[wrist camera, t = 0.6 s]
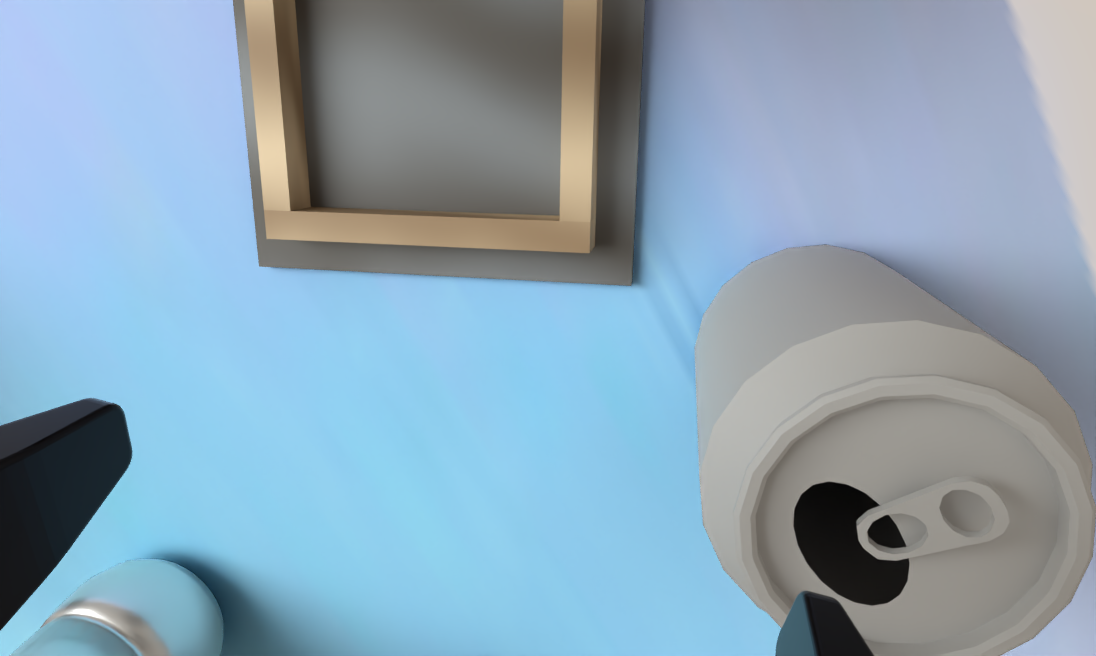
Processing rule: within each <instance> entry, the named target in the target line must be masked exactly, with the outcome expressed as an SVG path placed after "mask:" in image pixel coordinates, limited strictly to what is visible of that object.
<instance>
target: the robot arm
mask: <svg viewBox="0 0 1096 656" xmlns="http://www.w3.org/2000/svg"><path fill="white" fill-rule="evenodd" d="M131 458H132V446H131V441H130V437H129V432H128V427H127V423H126V418H125V414H124V411H123V409H122V408H121V407H120V406H119V405H117V404H114V403H110V402H106V401H103V400H99V399H95V398H87V399H83V400H80V401H76V402H73V403H70V404H67V405H64V406H61V407H58V408H55V409H51V410H48V411H45V412H42V413H39V414H36V415H33V416H29V417H26V418H23V419H20V420H17V421H14V422H11V423H7V424H4V425H1V426H0V631H1V629H2V628H3V627H4V626H5V625H6V624H7V623H8V621H9V620H10V619H11V618H12V617H13V616H14V615H15V613H16V612H17V611H18V610H19V609H20V608H21V607H22V605H23V604H24V603H25V602H26V601H27V600H28V599H29V597H30V596H31V595H32V594H33V593H34V592H35V591H36V589H37V588H38V587H39V586H40V585H41V584H42V583H43V581H44V580H45V579H46V578H47V577H48V575H49V574H50V573H51V572H52V571H53V569H54V568H55V567H56V566H57V565H58V563H59V562H60V561H61V559H62V558H63V557H64V555H65V554H66V553H67V551H68V550H69V549H70V548H71V546H72V545H73V543H74V542H75V541H76V539H77V538H78V536H79V535H80V534H81V532H82V531H83V530H84V528H85V527H86V525H87V524H88V523H89V521H90V520H91V518H92V517H93V516H94V514H95V513H96V512H97V510H98V509H99V507H100V506H101V505H102V503H103V502H104V500H105V499H106V498H107V496H108V495H109V494H110V492H111V491H112V489H113V488H114V487H115V485H116V484H117V483H118V481H119V480H120V478H121V477H122V476H123V474H124V473H125V471H126V470H127V468H128V466H129V464H130V462H131ZM775 656H874V654H873V653H872V651H871V650H870V648H869V647H868V645H867V644H866V642H865V640H864V639H863V637H862V636H861V634H860V633H859V631H858V630H857V628H856V626H855V625H854V623H853V622H852V620H851V619H850V617H849V616H848V614H847V612H846V611H845V609H844V608H843V606H842V605H841V604H840V602H839V601H837V600H836V599H835V598H833V597H830V596H826V595H822V594H818V593H815V592H811V591H801V592H800V593H799V594H798V595H797V597H796V599H795V601H794V603H793V605H792V607H791V610H790V612H789V614H788V616H787V618H786V620H785V622H784V624H783V626H782V628H781V631H780V633H779V636H778V640H777V645H776V655H775Z"/></svg>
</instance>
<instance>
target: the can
mask: <svg viewBox="0 0 1096 656" xmlns="http://www.w3.org/2000/svg"><path fill="white" fill-rule="evenodd" d="M695 373H696V400H697V427H698V453H699V478H700V491H701V504H702V517H703V525H704V528H705V530H706V532H707V534H708V536H709V539H710V541H711V543H712V545H713V548H714V550H715V552H716V554H717V556H718V559H719V561H720V563H721V565H722V568H723V570H724V571H725V572H726V573H727V574H728V575H729V576H730V577H731V578H732V579H733V580H734V582H735V583H736V584H737V585H738V586H739V587H740V588H741V589H742V590H743V591H744V592H745V594H746V595H747V596H748V597H749V598H750V599H751V600H752V601H753V602H754V603H755V604H756V606H757V607H759V608H760V609H762V610H764V611H765V612H767V613H768V614H769V615H770V616H771V617H772V618H773V620H774V621H775V622H776V623H777V624H778V625H779V626H780V627H781V628H782V626H783V624H784V622H785V620H786V618H787V616H788V614H789V612H790V610H791V607H792V605H793V603H794V601H795V599H796V597H797V595H798V594H799V593H800V592H801V591H811V592H815V593H818V594H822V595H826V596H830V597H833V598H835V599H836V600H837V601H839V602H840V604H841V605H842V606H843V608H844V609H845V611H846V612H847V614H848V616H849V617H850V619H851V620H852V622H853V623H854V625H855V626H856V628H857V630H858V631H859V633H860V634H861V636H862V637H863V639H864V640H865V642H866V644H867V645H868V647H869V648H870V650H871V651H872V653H873V654H874V656H1000V655H1002V654H1004V653H1006V652H1008V651H1010V650H1012V649H1014V648H1016V647H1018V646H1020V645H1021V644H1023V643H1025V642H1027V641H1029V640H1031V639H1033V638H1034V637H1035V636H1036V635H1037V634H1038V633H1039V632H1040V631H1041V630H1042V629H1043V628H1044V627H1045V626H1046V625H1047V624H1049V623H1050V622H1051V621H1052V620H1053V619H1054V618H1055V617H1056V616H1057V615H1058V614H1059V613H1060V612H1061V611H1062V610H1063V609H1064V608H1065V607H1066V606H1067V605H1068V604H1069V603H1070V602H1071V600H1072V598H1073V596H1074V594H1075V592H1076V590H1077V588H1078V586H1079V584H1080V582H1081V580H1082V578H1083V576H1084V574H1085V571H1086V569H1087V567H1088V565H1089V563H1090V561H1091V559H1092V557H1093V546H1094V532H1095V519H1096V505H1095V502H1094V499H1093V496H1092V493H1091V478H1092V462H1091V459H1090V456H1089V453H1088V450H1087V447H1086V444H1085V441H1084V438H1083V435H1082V432H1081V429H1080V426H1079V423H1078V420H1077V417H1076V414H1075V412H1074V410H1073V409H1072V408H1071V407H1070V406H1069V404H1068V403H1067V402H1066V401H1065V400H1064V399H1063V397H1062V396H1061V395H1060V394H1059V393H1058V391H1057V390H1056V389H1055V388H1054V387H1053V386H1052V384H1051V383H1050V382H1049V381H1048V380H1047V378H1046V377H1045V376H1044V375H1043V374H1042V373H1041V371H1040V370H1039V369H1038V368H1037V367H1036V366H1035V365H1034V364H1032V363H1031V362H1029V361H1028V360H1026V359H1025V358H1023V357H1022V356H1020V355H1019V354H1017V353H1016V352H1014V351H1013V350H1011V349H1010V348H1009V347H1007V346H1006V345H1004V344H1003V343H1001V342H1000V341H998V340H997V339H995V338H994V337H992V336H991V335H989V334H988V333H986V332H985V331H983V330H982V329H980V328H979V327H978V326H976V325H975V324H973V323H972V322H970V321H969V320H967V319H966V318H964V317H963V316H961V315H960V314H958V313H957V312H955V311H954V310H952V309H951V308H949V307H948V306H947V305H945V304H944V303H942V302H941V301H939V300H938V299H936V298H935V297H933V296H932V295H930V294H929V293H927V292H926V291H924V290H923V289H921V288H920V287H918V286H917V285H916V284H914V283H913V282H911V281H910V280H908V279H907V278H905V277H904V276H902V275H901V274H899V273H898V272H896V271H895V270H893V269H891V268H889V267H888V266H886V265H884V264H883V263H881V262H879V261H877V260H876V259H874V258H872V257H870V256H869V255H867V254H865V253H863V252H858V251H854V250H849V249H844V248H840V247H835V246H830V245H816V246H805V247H793V248H786V249H783V250H781V251H779V252H776V253H774V254H771V255H769V256H766V257H764V258H761V259H759V260H756V261H754V262H751V263H750V264H749V265H748V266H746V267H745V268H744V269H743V270H741V271H740V272H739V273H738V274H736V275H735V276H734V277H733V278H731V279H730V280H729V281H728V282H727V283H725V284H724V285H723V286H722V287H721V289H720V290H719V292H718V293H717V295H716V296H715V298H714V299H713V301H712V303H711V304H710V306H709V307H708V309H707V310H706V312H705V313H704V315H703V318H702V321H701V325H700V329H699V333H698V337H697V340H696V344H695Z"/></svg>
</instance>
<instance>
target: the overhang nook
mask: <svg viewBox="0 0 1096 656" xmlns="http://www.w3.org/2000/svg"><path fill="white" fill-rule="evenodd" d="M233 6H234V16H235V26H236V36H237V46H238V56H239V67H240V77H241V87H242V97H243V107H244V117H245V128H246V138H247V148H248V158H249V168H250V178H251V189H252V199H253V209H254V219H255V229H256V239H257V249H258V260H259V266H262V267H282V268H301V269H320V270H339V271H358V272H378V273H397V274H416V275H435V276H454V277H474V278H493V279H512V280H531V281H551V282H570V283H589V284H608V285H627V286H631V285H632V277H633V255H634V233H635V212H636V190H637V168H638V147H639V125H640V103H641V82H642V60H643V38H644V17H645V0H233Z"/></svg>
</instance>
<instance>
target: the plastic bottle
mask: <svg viewBox="0 0 1096 656" xmlns="http://www.w3.org/2000/svg"><path fill="white" fill-rule="evenodd" d="M222 646H223V618H222V613H221V610H220V607H219V605H218V602H217V600H216V599H215V597H214V595H213V594H212V592H211V591H210V590H209V588H208V587H207V586H206V585H205V584H204V582H202V581H201V580H200V579H199V578H198V577H197V576H196V575H195V574H193V573H192V572H190V571H189V570H187V569H186V568H184V567H182V566H180V565H178V564H176V563H173V562H170V561H166V560H160V559H135V560H127V561H125V562H122V563H119V564H117V565H115V566H113V567H111V568H109V569H107V570H105V571H103V572H101V573H99V574H97V575H95V576H93V577H91V578H90V579H88V580H87V581H86V582H84V583H83V584H81V585H80V586H79V587H78V588H77V589H76V590H75V591H74V592H73V593H72V594H71V595H70V596H69V597H68V598H67V599H66V600H65V601H64V602H63V603H62V604H61V605H59V606H58V608H57V609H56V610H55V611H54V612H53V613H52V614H51V616H50V617H49V618H48V619H47V620H46V621H45V622H44V624H43V625H42V626H41V628H40V629H39V630H38V631H37V632H36V633H34V634H33V635H32V636H31V637H30V638H29V639H28V640H26V641H25V642H24V643H23V644H22V645H21V646H20V647H19V648H17V649H16V650H15V651H14V652H13V653H12V654H11V655H10V656H220V654H221V650H222Z"/></svg>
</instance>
